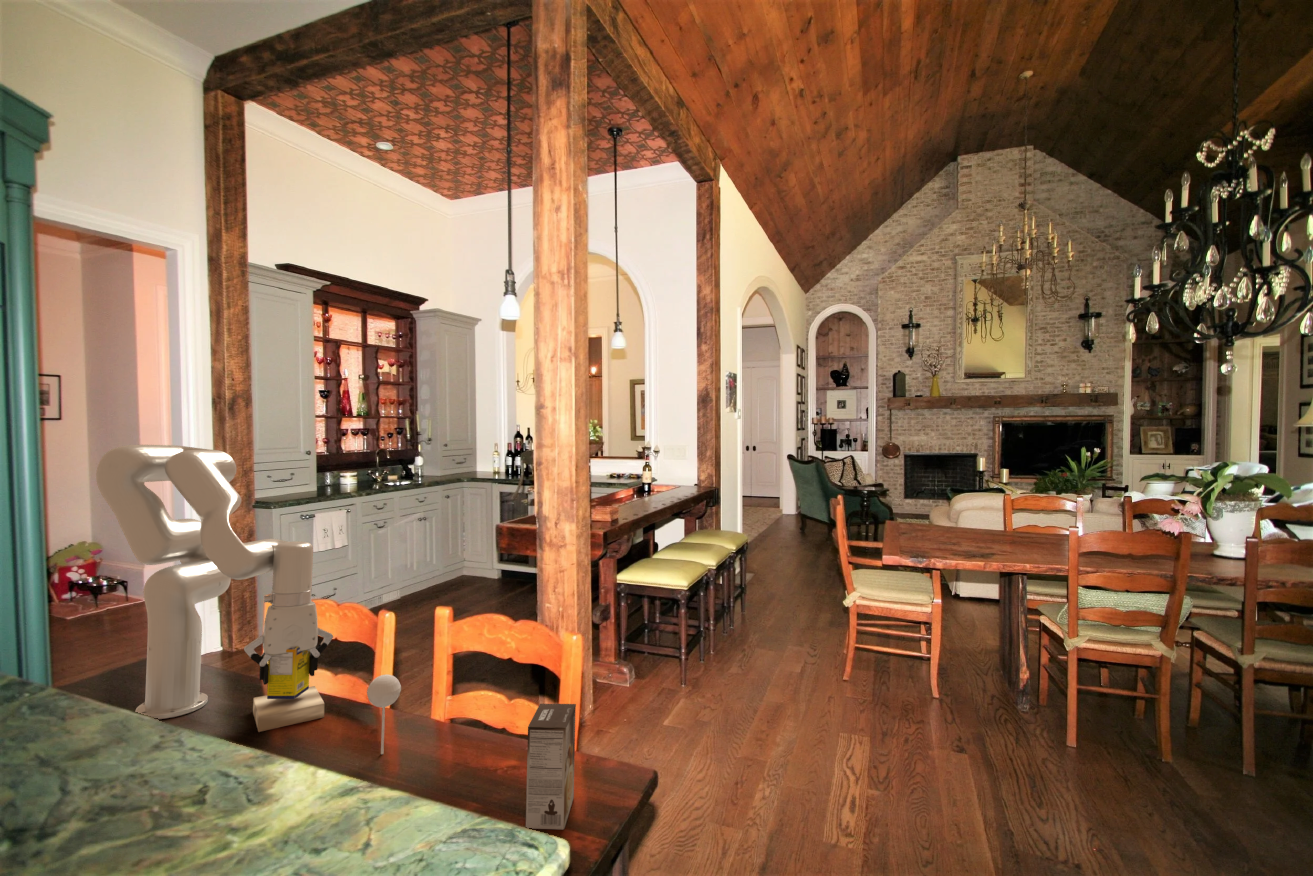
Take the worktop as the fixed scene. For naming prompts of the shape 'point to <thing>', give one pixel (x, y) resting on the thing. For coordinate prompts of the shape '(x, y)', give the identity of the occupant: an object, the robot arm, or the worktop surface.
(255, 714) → the block
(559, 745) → the coffee box
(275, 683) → the supplement box
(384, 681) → the lollipop
